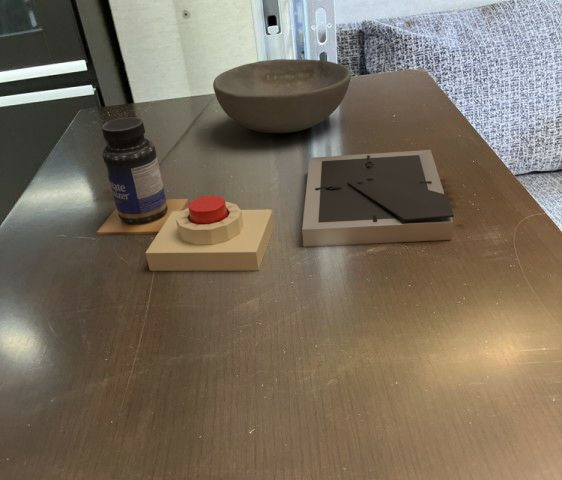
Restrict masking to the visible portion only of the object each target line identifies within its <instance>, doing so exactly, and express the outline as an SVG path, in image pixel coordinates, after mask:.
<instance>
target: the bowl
mask: <svg viewBox="0 0 562 480" xmlns="http://www.w3.org/2000/svg"><path fill="white" fill-rule="evenodd" d="M351 79H352V72H351V70H350V69H349V68H348V67H346V66H345V65H343V64H339V63H336V62H333V61H329V60H322V59H321V60H320V59H308V58H307V59H306V58H305V59H293V58H292V59H288V58H287V59H286V58H285V59H284V58H279V59H278V58H277V59H271V60H270V59H269V60H267V59H266V60H260V61H255V62H250V63H245V64H241V65H239V66H236V67H233V68H231V69H228V70H226V71H223V72H221V73H220V74H218V75H217V76H216V77H215V78H214V79H213V82H212V83H213V84H212V87H213V93H214V94H215V97H216V100H217V103H218V104H219V106H220V107H221V109H222V110H223V112H224V113H225V114H226V115H227V116H228V117H229V118H230V119H231V120H232V121H233V122H235V123H236V124H237V125H239V126H241V127H243V128H246V129H248V130H251V131H255V132H259V133H264V134H290V133H297V132H301V131H305V130H308V129H310V128H312V127H314V126H316V125H318V124H320V123H321V122H323V121H324V120H326V119H327V118H329V117H330V116H331V115H332V114H333V113H334V112H335V111H336V110H337V109H338V107H339V106H340V104H342V102H343V100H344V98H345V96H346V94H347V92H348V89H349V86H350V83H351Z"/></svg>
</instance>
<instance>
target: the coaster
mask: <svg viewBox="0 0 562 480" xmlns="http://www.w3.org/2000/svg"><path fill="white" fill-rule="evenodd" d="M166 202H167V208H168V209H167V212H166V213H165V214H164V215H163V216H162V217H161V218H159V219H157V220H154V221H152V222H148V223H144V224H131V223H126V222H124V221H122V220H121V219H120V217H119V215H118V211H117V208H115V209H114V210H113V212H112V213H111V214H110V215H109V216H108V218H107V219H106V220H105V222H104V223H102V225H101V226H100V227H99V228H98V230H97V231H96V234H97V236H122V235H123V236H125V235H126V236H129V235H130V236H131V235H132V236H133V235H157V234H158V233H159V231H160V230H161V228H162V227H163V225H164V224H165V222H166V221H167V219H168V217H169V216H170V214H171V213H172V212H173V211H183V210H185V209H186V207H187V206H188V205H189V203H190V202H189V198H171V199H168V198H166Z"/></svg>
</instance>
